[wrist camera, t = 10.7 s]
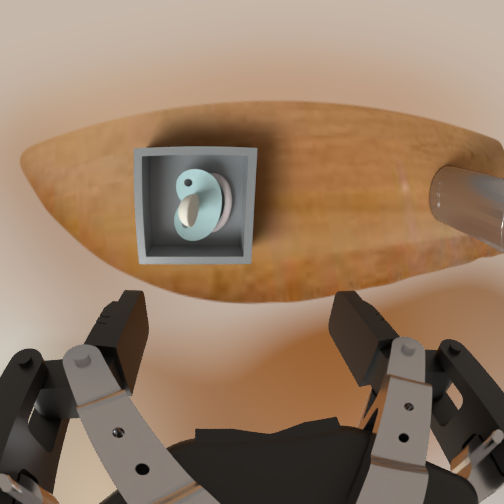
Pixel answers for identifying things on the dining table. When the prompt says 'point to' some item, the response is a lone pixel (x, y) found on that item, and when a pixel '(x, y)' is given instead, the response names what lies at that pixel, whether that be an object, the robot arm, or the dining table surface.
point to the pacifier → (201, 204)
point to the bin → (167, 202)
